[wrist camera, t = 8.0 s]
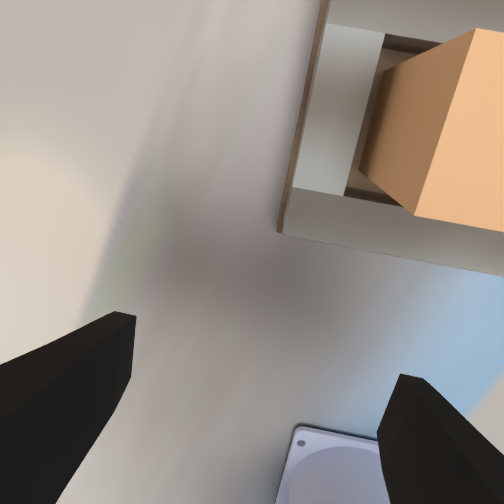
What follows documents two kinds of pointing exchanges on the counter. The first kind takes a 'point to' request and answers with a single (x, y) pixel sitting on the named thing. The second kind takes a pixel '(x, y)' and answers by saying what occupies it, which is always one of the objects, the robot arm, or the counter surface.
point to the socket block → (356, 129)
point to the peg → (443, 132)
